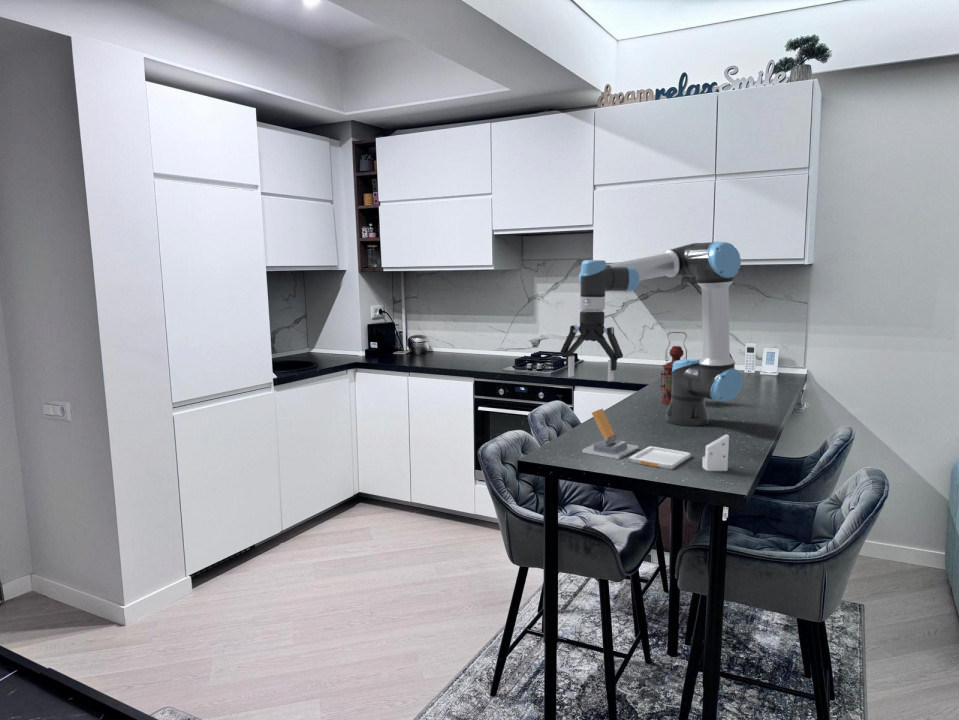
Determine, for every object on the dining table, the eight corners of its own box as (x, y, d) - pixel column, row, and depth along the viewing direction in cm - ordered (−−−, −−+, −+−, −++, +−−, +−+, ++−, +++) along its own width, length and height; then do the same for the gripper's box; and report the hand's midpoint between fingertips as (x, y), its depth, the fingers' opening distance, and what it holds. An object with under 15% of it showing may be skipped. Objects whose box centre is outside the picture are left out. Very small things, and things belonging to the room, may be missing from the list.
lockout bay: (649, 449, 207) (650, 446, 207) (691, 456, 199) (691, 452, 199) (627, 461, 194) (627, 457, 194) (671, 469, 186) (671, 465, 186)
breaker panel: (603, 442, 215) (603, 435, 215) (637, 448, 208) (638, 441, 208) (582, 452, 204) (582, 444, 204) (618, 458, 197) (618, 450, 197)
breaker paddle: (613, 441, 208) (598, 410, 210) (618, 439, 207) (603, 408, 209) (605, 444, 204) (590, 413, 206) (610, 442, 203) (595, 411, 205)
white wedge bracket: (743, 461, 185) (729, 435, 184) (711, 479, 186) (697, 453, 184) (737, 458, 189) (723, 432, 188) (706, 475, 189) (692, 450, 188)
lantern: (687, 400, 283) (690, 330, 279) (691, 406, 271) (694, 333, 267) (658, 400, 285) (660, 330, 281) (660, 405, 274) (663, 333, 270)
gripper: (550, 309, 209) (549, 376, 212) (625, 312, 195) (622, 384, 198) (562, 308, 215) (560, 373, 218) (635, 311, 201) (632, 381, 204)
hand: (590, 378), depth 208 cm, fingers open, 13 cm apart
